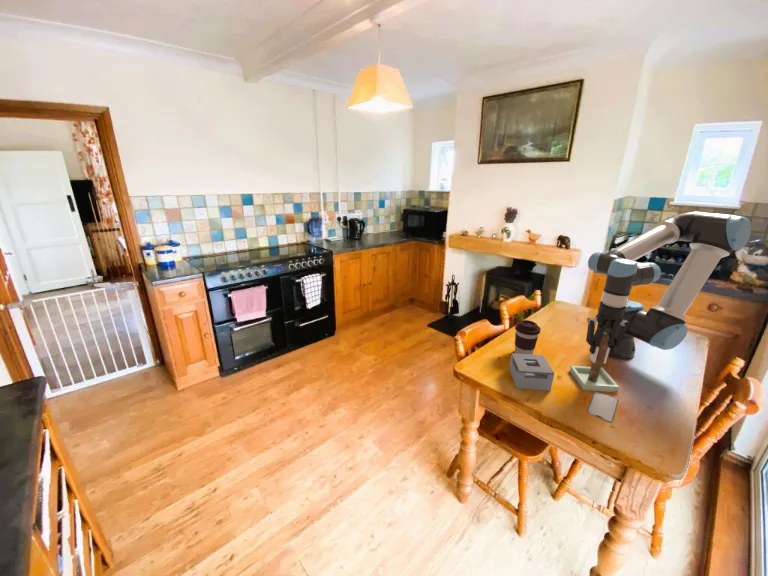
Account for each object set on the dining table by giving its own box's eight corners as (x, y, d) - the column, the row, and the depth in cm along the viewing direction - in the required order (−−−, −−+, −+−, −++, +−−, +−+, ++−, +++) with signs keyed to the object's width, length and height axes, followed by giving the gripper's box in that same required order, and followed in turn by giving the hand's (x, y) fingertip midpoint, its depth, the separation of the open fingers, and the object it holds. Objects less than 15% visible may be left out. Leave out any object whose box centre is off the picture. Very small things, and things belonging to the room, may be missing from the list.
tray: (601, 372, 129) (602, 367, 128) (617, 392, 118) (619, 386, 117) (569, 370, 130) (570, 365, 130) (582, 389, 119) (584, 384, 118)
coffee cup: (537, 361, 137) (543, 329, 132) (513, 358, 139) (518, 327, 133) (532, 349, 146) (538, 319, 141) (509, 346, 148) (514, 317, 143)
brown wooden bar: (594, 377, 125) (607, 332, 118) (598, 382, 122) (611, 336, 115) (586, 377, 125) (598, 331, 118) (590, 381, 123) (602, 335, 116)
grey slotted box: (540, 371, 130) (543, 355, 127) (550, 390, 119) (554, 373, 116) (509, 369, 131) (511, 353, 129) (516, 388, 120) (519, 370, 117)
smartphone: (619, 399, 114) (612, 422, 104) (618, 400, 114) (611, 424, 104) (594, 390, 119) (586, 412, 108) (594, 391, 119) (585, 413, 108)
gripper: (631, 300, 115) (615, 356, 123) (583, 298, 117) (570, 354, 125) (644, 309, 108) (626, 368, 116) (593, 306, 110) (579, 365, 118)
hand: (597, 360), depth 121 cm, fingers closed on brown wooden bar, 3 cm apart
